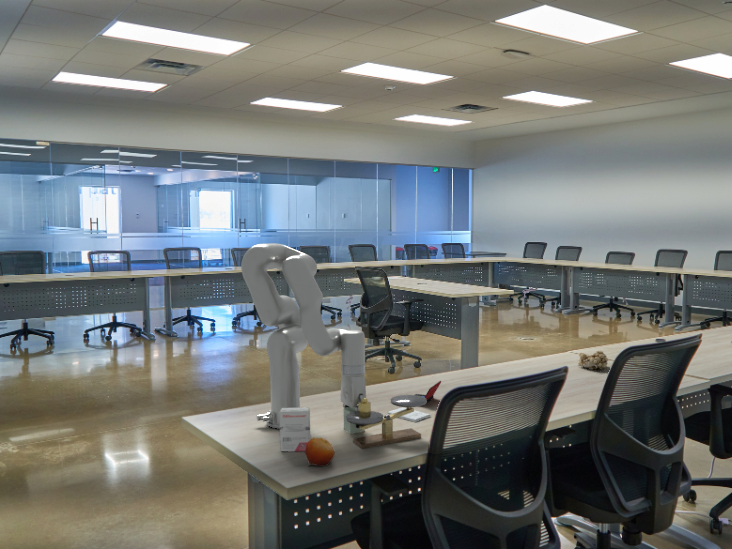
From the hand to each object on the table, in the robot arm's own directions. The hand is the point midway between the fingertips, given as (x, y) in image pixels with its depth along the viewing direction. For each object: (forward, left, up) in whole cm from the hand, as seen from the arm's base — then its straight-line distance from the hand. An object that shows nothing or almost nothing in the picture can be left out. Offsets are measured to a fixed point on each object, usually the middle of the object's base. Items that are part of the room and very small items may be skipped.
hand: (354, 423), depth 192 cm
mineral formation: (+131, +27, -3) cm, 134 cm away
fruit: (-20, -21, -3) cm, 29 cm away
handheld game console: (+36, +18, -3) cm, 40 cm away
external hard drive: (+23, +5, -3) cm, 24 cm away
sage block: (0, 0, -2) cm, 2 cm away
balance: (+5, -13, -2) cm, 14 cm away
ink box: (-22, -7, -3) cm, 23 cm away
